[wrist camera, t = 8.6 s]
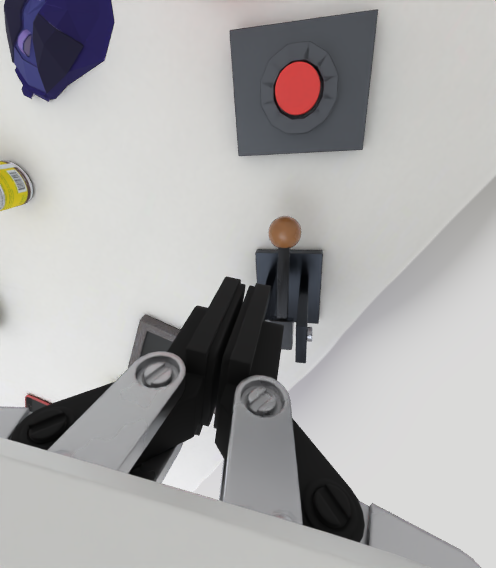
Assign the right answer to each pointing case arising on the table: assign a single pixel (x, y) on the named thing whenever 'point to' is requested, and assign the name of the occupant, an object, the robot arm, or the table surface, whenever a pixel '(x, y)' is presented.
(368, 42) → the grey base plate
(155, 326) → the picture frame
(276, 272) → the switch bracket
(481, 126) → the table surface
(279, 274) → the switch lever
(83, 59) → the computer mouse
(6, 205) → the supplement bottle
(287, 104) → the button
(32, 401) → the smartphone
